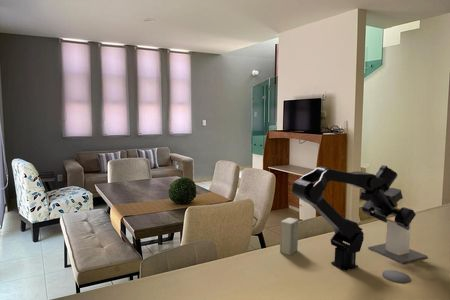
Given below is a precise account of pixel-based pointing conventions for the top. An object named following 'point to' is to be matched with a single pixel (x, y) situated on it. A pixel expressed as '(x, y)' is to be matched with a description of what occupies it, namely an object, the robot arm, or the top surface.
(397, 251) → the pink-topped tall block
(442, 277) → the top surface
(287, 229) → the skincare box
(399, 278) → the slate coaster
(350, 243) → the robot arm
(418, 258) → the post plate
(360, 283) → the top surface
